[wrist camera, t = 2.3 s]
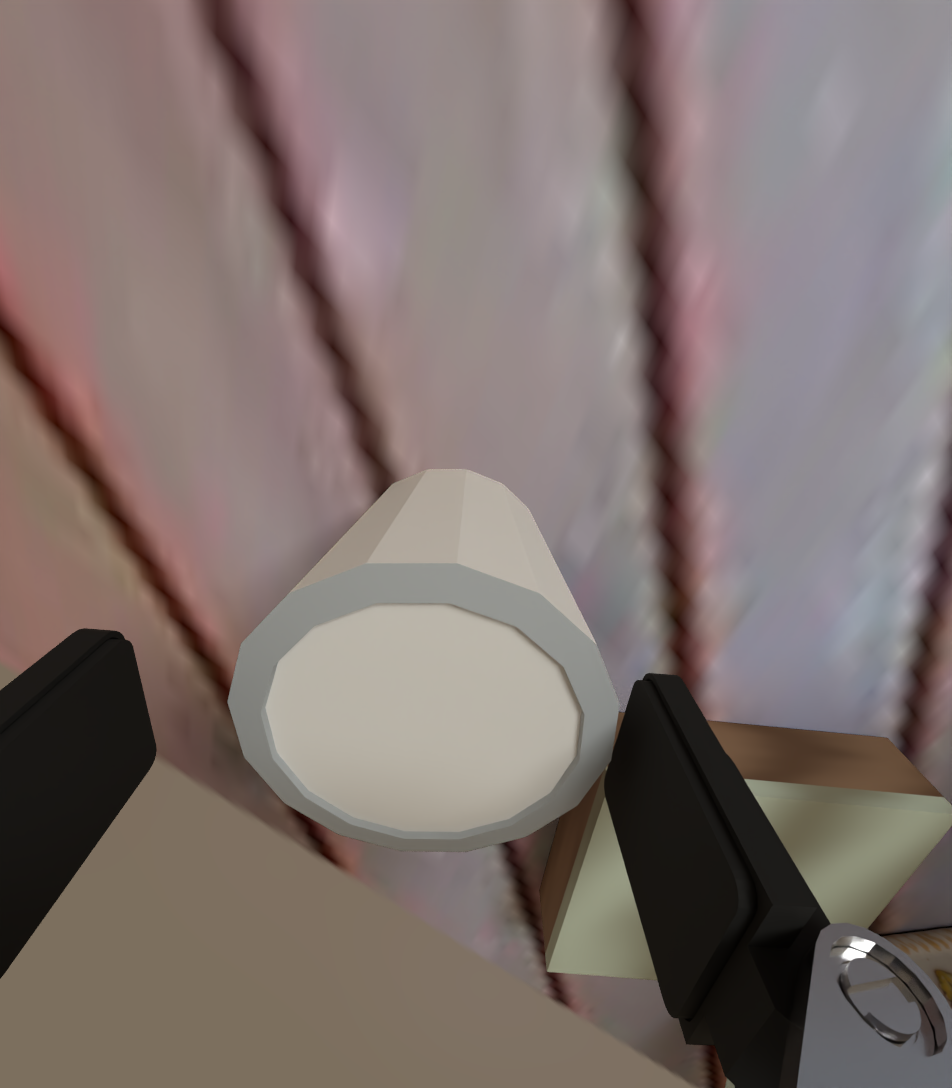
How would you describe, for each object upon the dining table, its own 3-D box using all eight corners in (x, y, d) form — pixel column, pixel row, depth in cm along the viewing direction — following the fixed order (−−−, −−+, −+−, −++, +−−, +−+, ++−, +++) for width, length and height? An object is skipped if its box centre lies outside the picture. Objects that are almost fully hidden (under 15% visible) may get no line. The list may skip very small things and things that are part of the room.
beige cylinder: (427, 678, 17) (392, 897, 10) (290, 528, 14) (137, 694, 8) (603, 583, 15) (688, 777, 9) (480, 395, 13) (474, 473, 6)
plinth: (887, 737, 18) (960, 814, 15) (774, 910, 22) (814, 992, 20) (589, 709, 17) (609, 782, 14) (539, 890, 22) (547, 971, 19)
